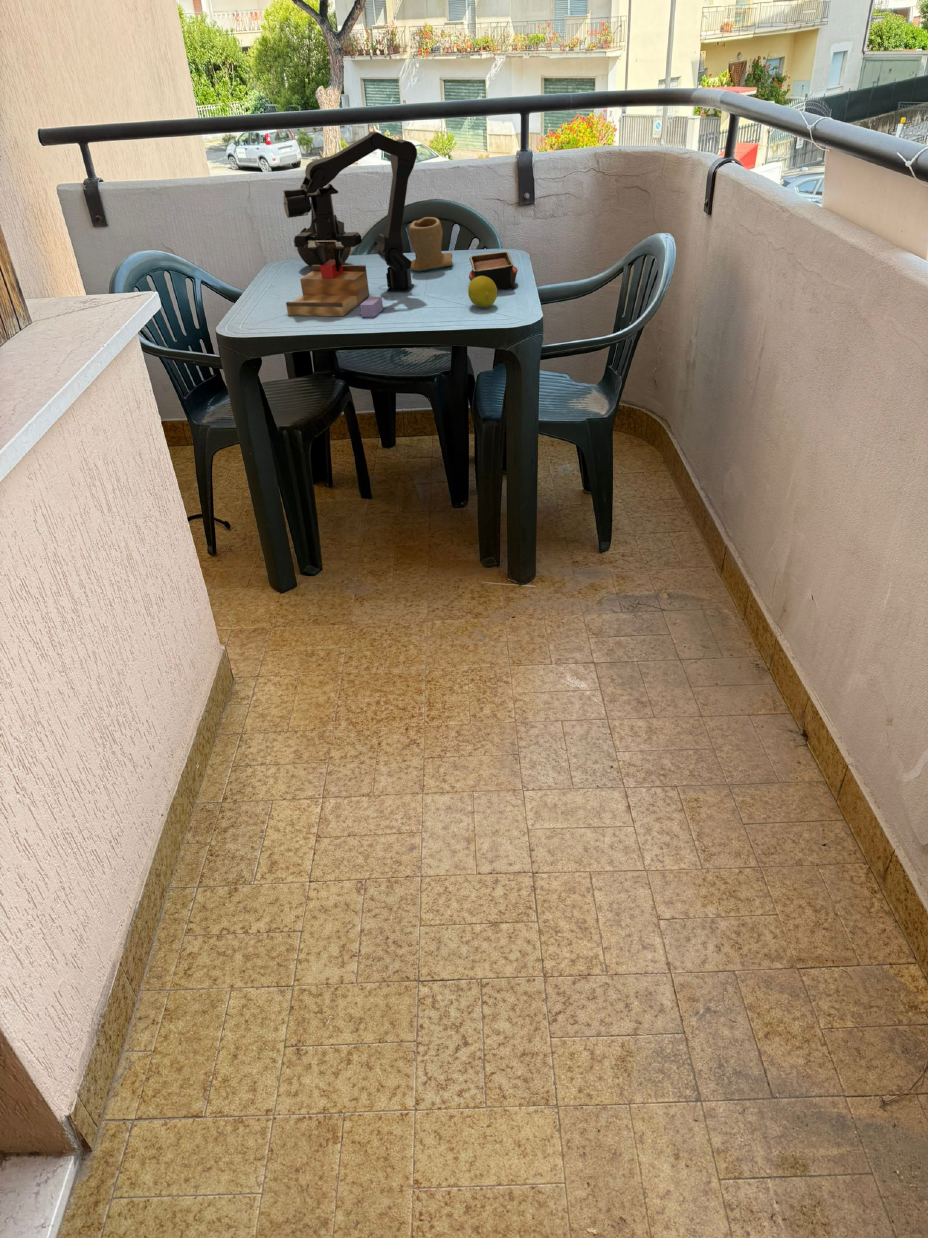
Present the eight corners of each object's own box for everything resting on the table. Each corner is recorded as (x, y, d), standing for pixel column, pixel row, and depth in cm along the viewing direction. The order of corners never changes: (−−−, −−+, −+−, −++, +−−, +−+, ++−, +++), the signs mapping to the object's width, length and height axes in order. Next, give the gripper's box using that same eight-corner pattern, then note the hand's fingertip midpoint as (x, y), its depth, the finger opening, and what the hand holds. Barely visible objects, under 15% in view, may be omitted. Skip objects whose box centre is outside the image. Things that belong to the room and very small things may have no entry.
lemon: (500, 310, 229) (499, 279, 224) (472, 313, 228) (470, 282, 224) (493, 299, 238) (492, 269, 233) (466, 302, 237) (464, 272, 232)
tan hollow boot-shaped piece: (414, 276, 264) (409, 224, 255) (406, 267, 273) (401, 217, 264) (460, 269, 266) (457, 218, 257) (451, 261, 276) (447, 211, 267)
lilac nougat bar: (383, 308, 237) (381, 296, 235) (373, 317, 231) (372, 304, 229) (371, 308, 238) (369, 296, 236) (361, 316, 232) (360, 304, 230)
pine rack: (369, 295, 249) (365, 264, 244) (343, 316, 234) (338, 284, 229) (317, 294, 254) (312, 264, 249) (288, 315, 238) (282, 283, 233)
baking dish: (468, 300, 245) (468, 266, 238) (469, 274, 258) (469, 241, 250) (517, 301, 245) (519, 267, 238) (515, 275, 257) (517, 242, 250)
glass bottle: (310, 260, 289) (295, 169, 273) (359, 258, 286) (348, 166, 270) (293, 273, 275) (276, 179, 259) (345, 272, 272) (331, 176, 256)
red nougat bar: (343, 271, 246) (341, 259, 244) (333, 278, 240) (331, 266, 238) (332, 271, 247) (330, 259, 245) (321, 278, 241) (319, 266, 239)
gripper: (364, 206, 237) (372, 264, 247) (305, 207, 242) (314, 263, 251) (350, 214, 229) (358, 274, 238) (288, 215, 234) (298, 273, 243)
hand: (332, 271), depth 243 cm, fingers open, 4 cm apart
